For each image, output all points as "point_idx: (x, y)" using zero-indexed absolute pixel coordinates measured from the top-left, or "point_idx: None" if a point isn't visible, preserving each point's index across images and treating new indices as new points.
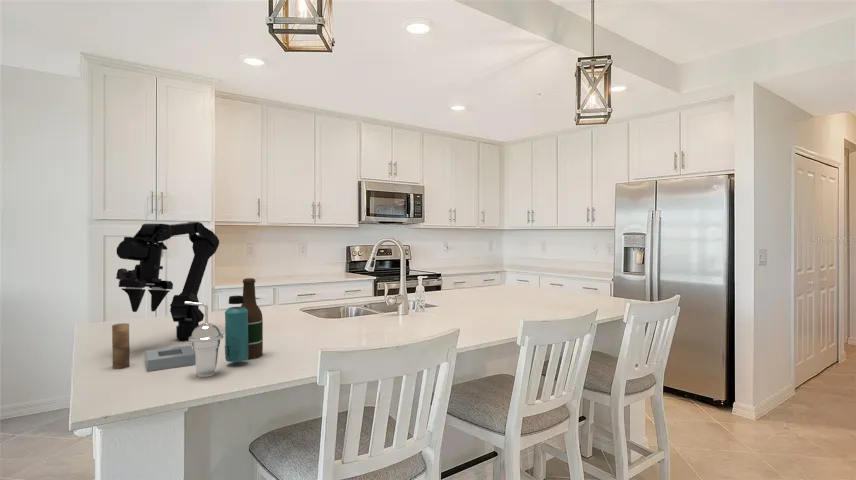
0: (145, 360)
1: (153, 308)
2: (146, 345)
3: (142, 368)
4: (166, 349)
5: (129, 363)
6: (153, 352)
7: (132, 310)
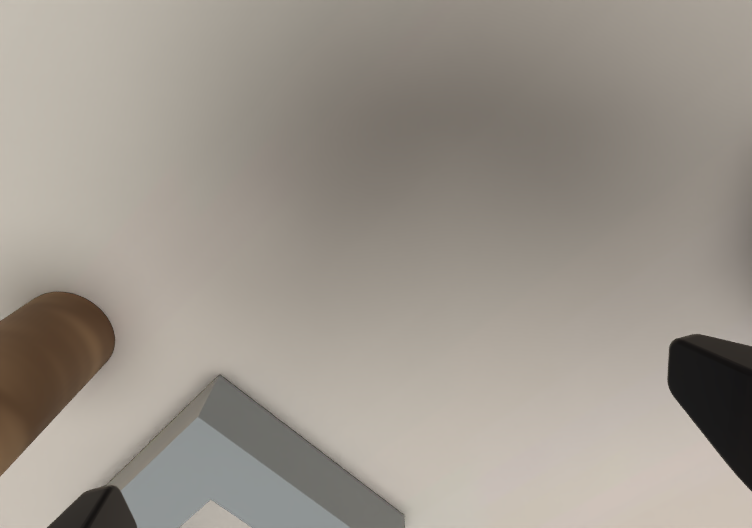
0: (214, 380)
1: (708, 403)
2: (610, 33)
3: (101, 461)
4: (274, 510)
5: (97, 371)
6: (186, 488)
7: (72, 508)
